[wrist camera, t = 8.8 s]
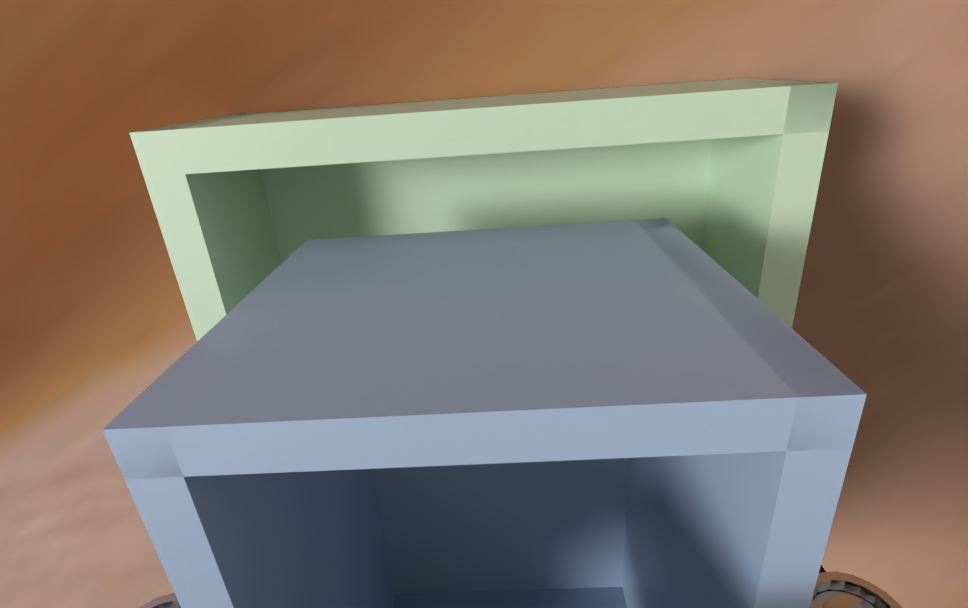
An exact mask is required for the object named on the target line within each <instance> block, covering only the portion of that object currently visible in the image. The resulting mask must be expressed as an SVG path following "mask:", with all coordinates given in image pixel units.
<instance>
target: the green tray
mask: <svg viewBox="0 0 968 608" xmlns="http://www.w3.org/2000/svg"><path fill="white" fill-rule="evenodd" d="M837 86H838V83H836V82H810V81H785V80H760V79H728V80H714V81H700V82H686V83H672V84H658V85H644V86H630V87H616V88H602V89H588V90H574V91H561V92H547V93H533V94H519V95H505V96H491V97H477V98H463V99H449V100H435V101H421V102H407V103H393V104H379V105H365V106H351V107H337V108H323V109H309V110H295V111H281V112H267V113H253V114H239V115H228V116H222V117H216V118H210V119H205V120H199V121H193V122H188V123H182V124H176V125H171V126H165V127H159V128H153V129H148V130H142V131H136V132H131V133H130V136H131V139H132V142H133V145H134V148H135V151H136V154H137V157H138V161H139V164H140V167H141V170H142V173H143V176H144V179H145V182H146V185H147V188H148V191H149V195H150V198H151V201H152V204H153V207H154V210H155V213H156V216H157V219H158V222H159V225H160V228H161V232H162V235H163V238H164V241H165V244H166V247H167V250H168V253H169V256H170V259H171V262H172V266H173V269H174V272H175V275H176V278H177V281H178V284H179V287H180V290H181V293H182V296H183V299H184V303H185V306H186V309H187V312H188V315H189V318H190V321H191V324H192V327H193V330H194V333H195V336H196V340H197V341H199V340H200V339H201V338H202V337H203V336H204V335H205V334H206V333H207V332H208V331H209V330H210V329H212V328H213V327H214V326H215V325H216V324H217V323H218V322H219V321H220V320H221V319H222V318H223V317H224V316H226V315H227V314H228V313H229V312H230V311H231V310H232V309H233V308H234V307H235V306H236V305H237V304H238V303H240V302H241V301H242V300H243V299H244V298H245V297H246V296H247V295H248V294H249V293H250V292H251V291H252V290H254V289H255V288H256V287H257V286H258V285H259V284H260V283H261V282H262V281H263V280H264V279H265V278H267V277H268V276H269V275H270V274H271V273H272V272H273V271H274V270H275V269H276V268H277V267H278V266H279V265H281V264H282V263H283V262H284V261H285V260H286V259H287V258H288V257H289V256H290V255H291V254H292V253H293V252H295V251H296V250H297V249H298V248H299V247H300V246H301V245H302V244H303V243H304V242H305V241H306V240H313V239H330V238H346V237H363V236H379V235H395V234H412V233H428V232H445V231H461V230H477V229H494V228H510V227H527V226H543V225H559V224H576V223H592V222H609V221H625V220H641V219H658V218H666V219H667V220H668V221H670V222H671V223H672V224H673V225H674V226H675V227H676V228H678V229H679V230H680V231H681V232H682V233H683V234H684V235H686V236H687V237H688V238H689V239H690V240H691V241H692V242H694V243H695V244H696V245H697V246H698V247H699V248H700V249H702V250H703V251H704V252H705V253H706V254H707V255H708V256H710V257H711V258H712V259H713V260H714V261H715V262H716V263H718V264H719V265H720V266H721V267H722V268H723V269H724V270H726V271H727V272H728V273H729V274H730V275H731V276H732V277H734V278H735V279H736V280H737V281H738V282H739V283H740V284H742V285H743V286H744V287H745V288H746V289H747V290H748V291H750V292H751V293H752V294H753V295H754V296H755V297H756V298H758V299H759V300H760V301H761V302H762V303H763V304H764V305H766V306H767V307H768V308H769V309H770V310H771V311H772V312H774V313H775V314H776V315H777V316H778V317H779V318H780V319H782V320H783V321H784V322H785V323H786V324H787V325H788V326H790V327H791V328H792V326H793V320H794V315H795V310H796V304H797V299H798V294H799V288H800V283H801V278H802V273H803V267H804V262H805V257H806V251H807V246H808V241H809V235H810V230H811V225H812V219H813V214H814V209H815V203H816V198H817V193H818V187H819V182H820V177H821V171H822V166H823V161H824V156H825V150H826V145H827V140H828V134H829V129H830V124H831V118H832V113H833V108H834V102H835V97H836V92H837Z"/></svg>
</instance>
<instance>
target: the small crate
mask: <svg viewBox="0 0 968 608" xmlns="http://www.w3.org/2000/svg"><path fill="white" fill-rule="evenodd" d="M866 396H867V394H866V393H865V392H864V391H863V390H862V389H860V388H859V387H858V386H857V385H856V384H855V383H854V382H852V381H851V380H850V379H849V378H848V377H847V376H846V375H844V374H843V373H842V372H841V371H840V370H839V369H838V368H836V367H835V366H834V365H833V364H832V363H831V362H830V361H828V360H827V359H826V358H825V357H824V356H823V355H822V354H820V353H819V352H818V351H817V350H816V349H815V348H814V347H812V346H811V345H810V344H809V343H808V342H807V341H806V340H804V339H803V338H802V337H801V336H800V335H799V334H798V333H796V332H795V331H794V330H793V329H792V328H791V327H790V326H788V325H787V324H786V323H785V322H784V321H783V320H782V319H780V318H779V317H778V316H777V315H776V314H775V313H774V312H772V311H771V310H770V309H769V308H768V307H767V306H766V305H764V304H763V303H762V302H761V301H760V300H759V299H758V298H756V297H755V296H754V295H753V294H752V293H751V292H750V291H748V290H747V289H746V288H745V287H744V286H743V285H742V284H740V283H739V282H738V281H737V280H736V279H735V278H734V277H732V276H731V275H730V274H729V273H728V272H727V271H726V270H724V269H723V268H722V267H721V266H720V265H719V264H718V263H716V262H715V261H714V260H713V259H712V258H711V257H710V256H708V255H707V254H706V253H705V252H704V251H703V250H702V249H700V248H699V247H698V246H697V245H696V244H695V243H694V242H692V241H691V240H690V239H689V238H688V237H687V236H686V235H684V234H683V233H682V232H681V231H680V230H679V229H678V228H676V227H675V226H674V225H673V224H672V223H671V222H670V221H668V220H667V219H666V218H658V219H641V220H625V221H609V222H592V223H576V224H559V225H543V226H527V227H510V228H494V229H477V230H461V231H445V232H428V233H412V234H395V235H379V236H363V237H346V238H330V239H313V240H306V241H305V242H304V243H303V244H302V245H301V246H300V247H299V248H298V249H297V250H296V251H295V252H293V253H292V254H291V255H290V256H289V257H288V258H287V259H286V260H285V261H284V262H283V263H282V264H281V265H279V266H278V267H277V268H276V269H275V270H274V271H273V272H272V273H271V274H270V275H269V276H268V277H267V278H265V279H264V280H263V281H262V282H261V283H260V284H259V285H258V286H257V287H256V288H255V289H254V290H252V291H251V292H250V293H249V294H248V295H247V296H246V297H245V298H244V299H243V300H242V301H241V302H240V303H238V304H237V305H236V306H235V307H234V308H233V309H232V310H231V311H230V312H229V313H228V314H227V315H226V316H224V317H223V318H222V319H221V320H220V321H219V322H218V323H217V324H216V325H215V326H214V327H213V328H212V329H210V330H209V331H208V332H207V333H206V334H205V335H204V336H203V337H202V338H201V339H200V340H199V341H197V342H196V343H195V344H194V345H193V346H192V347H191V348H190V349H189V350H188V351H187V352H186V353H185V354H183V355H182V356H181V357H180V358H179V359H178V360H177V361H176V362H175V363H174V364H173V365H172V366H171V367H169V368H168V369H167V370H166V371H165V372H164V373H163V374H162V375H161V376H160V377H159V378H158V379H157V380H155V381H154V382H153V383H152V384H151V385H150V386H149V387H148V388H147V389H146V390H145V391H144V392H143V393H141V394H140V395H139V396H138V397H137V398H136V399H135V400H134V401H133V402H132V403H131V404H130V405H128V406H127V407H126V408H125V409H124V410H123V411H122V412H121V413H120V414H119V415H118V416H117V417H116V418H114V419H113V420H112V421H111V422H110V423H109V424H108V425H107V426H106V427H105V428H104V429H103V432H104V435H105V437H106V439H107V441H108V444H109V446H110V448H111V450H112V453H113V455H114V457H115V459H116V462H117V464H118V466H119V469H120V471H121V473H122V475H123V478H124V480H125V482H126V484H127V487H128V489H129V491H130V493H131V496H132V498H133V500H134V502H135V505H136V507H137V509H138V511H139V514H140V516H141V518H142V521H143V523H144V525H145V527H146V530H147V532H148V534H149V536H150V539H151V541H152V543H153V545H154V548H155V550H156V552H157V554H158V557H159V559H160V561H161V563H162V566H163V568H164V570H165V572H166V575H167V577H168V579H169V582H170V584H171V586H172V588H173V591H174V593H175V595H176V597H177V600H178V602H179V604H180V606H181V608H809V607H810V604H811V600H812V596H813V593H814V589H815V585H816V582H817V578H818V574H819V570H820V567H821V563H822V559H823V556H824V552H825V548H826V544H827V541H828V537H829V533H830V530H831V526H832V522H833V518H834V515H835V511H836V507H837V504H838V500H839V496H840V493H841V489H842V485H843V481H844V478H845V474H846V470H847V467H848V463H849V459H850V455H851V452H852V448H853V444H854V441H855V437H856V433H857V430H858V426H859V422H860V418H861V415H862V411H863V407H864V404H865V400H866Z"/></svg>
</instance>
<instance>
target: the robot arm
mask: <svg viewBox="0 0 968 608" xmlns="http://www.w3.org/2000/svg"><path fill="white" fill-rule="evenodd" d="M140 608H181V606H180V604H179V602H178V600H177V597H176V595H175V593H172V594H169V595H165V596H162V597H159V598H156V599H154V600H152V601H150V602H149V603H147V604H145V605H143V606H141V607H140ZM809 608H902V607H901V606H900V604H898V603H897V602H896V601H895V600H894V599H893V598H892V597H891V596H889V595H888V594H887V593H886V592H885V591H883V590H881V589H880V588H878V587H877V586H875V585H873V584H872V583H870V582H868V581H866V580H863V579H861V578H858V577H856V576H854V575H850V574H845V573H840V572H826V571H825V570H824V568H823V567H822V565H821V567H820V570H819V574H818V578H817V582H816V585H815V589H814V593H813V596H812V600H811V604H810V607H809Z"/></svg>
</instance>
